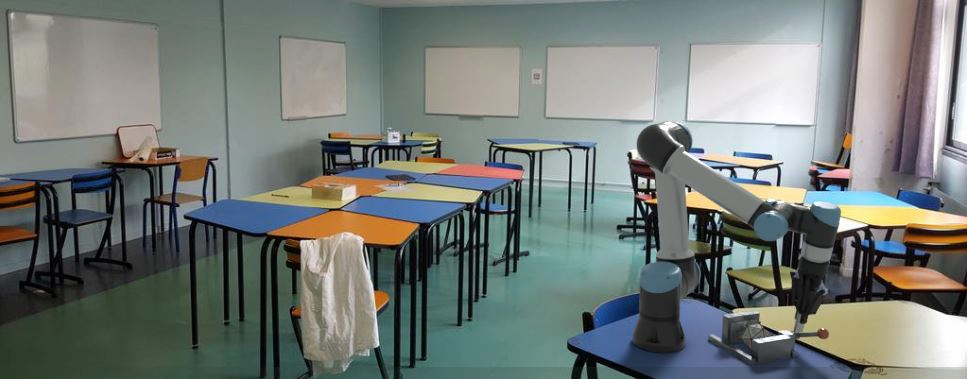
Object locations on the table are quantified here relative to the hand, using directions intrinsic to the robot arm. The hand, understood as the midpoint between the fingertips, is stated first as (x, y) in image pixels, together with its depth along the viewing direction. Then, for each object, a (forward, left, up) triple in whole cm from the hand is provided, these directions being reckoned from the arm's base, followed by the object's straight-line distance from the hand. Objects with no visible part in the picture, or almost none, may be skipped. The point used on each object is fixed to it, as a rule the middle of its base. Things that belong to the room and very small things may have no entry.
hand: (798, 331), depth 198 cm
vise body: (-6, -10, -5) cm, 13 cm away
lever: (-2, 0, -2) cm, 3 cm away
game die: (-4, -11, -6) cm, 13 cm away
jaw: (-10, -11, -5) cm, 16 cm away
